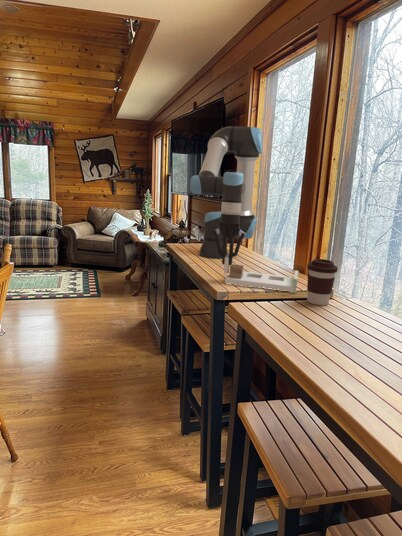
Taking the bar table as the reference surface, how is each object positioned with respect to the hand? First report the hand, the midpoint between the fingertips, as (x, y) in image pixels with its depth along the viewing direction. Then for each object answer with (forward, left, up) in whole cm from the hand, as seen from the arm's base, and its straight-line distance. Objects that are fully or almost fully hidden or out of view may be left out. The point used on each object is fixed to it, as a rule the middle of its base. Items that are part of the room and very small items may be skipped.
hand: (226, 272), depth 154 cm
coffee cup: (+11, +35, -4) cm, 37 cm away
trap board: (-4, +13, -4) cm, 15 cm away
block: (-1, +4, -2) cm, 4 cm away
